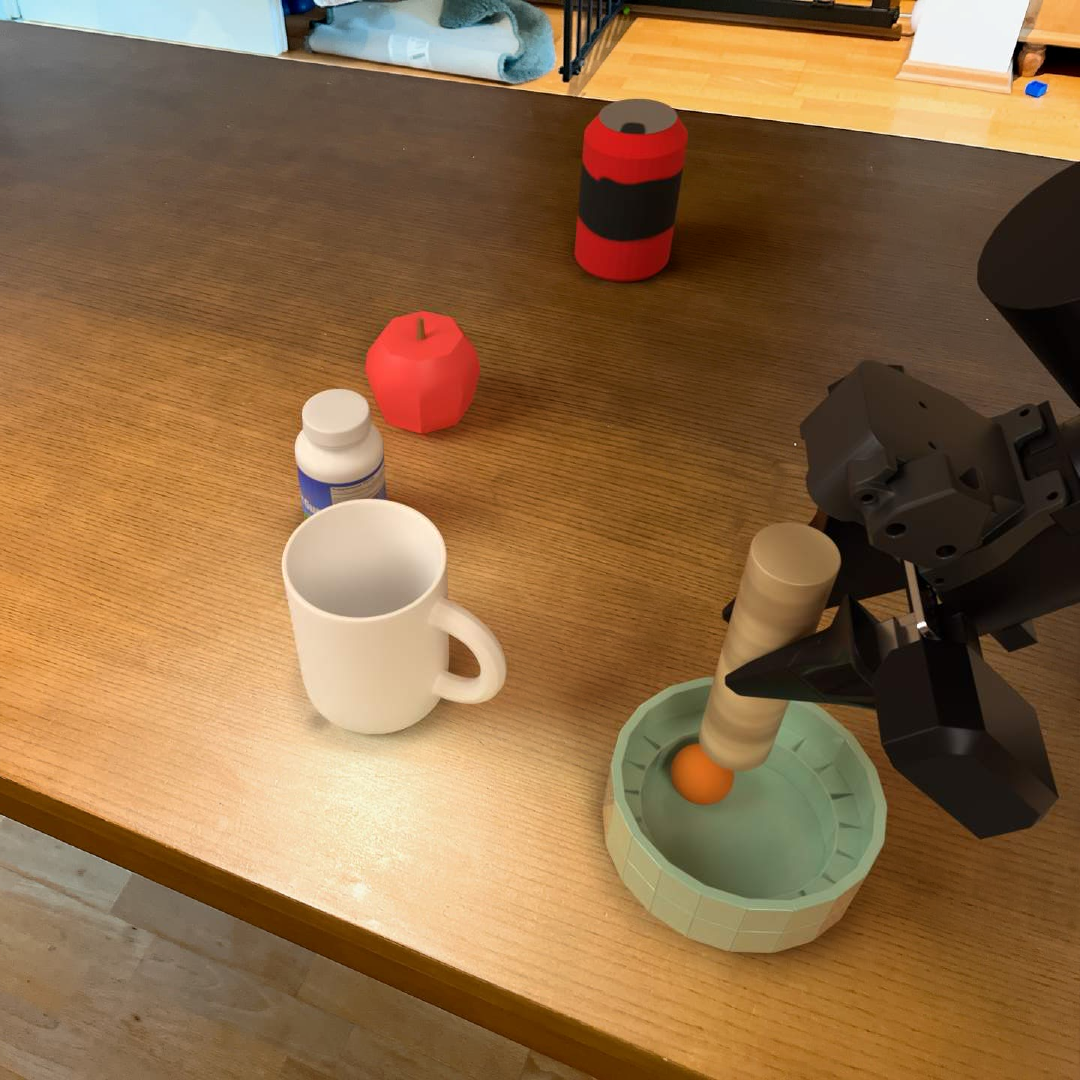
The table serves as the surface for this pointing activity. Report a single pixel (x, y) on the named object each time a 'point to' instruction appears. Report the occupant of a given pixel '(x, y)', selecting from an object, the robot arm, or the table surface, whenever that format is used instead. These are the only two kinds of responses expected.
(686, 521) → the table surface
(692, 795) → the bead
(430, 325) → the apple
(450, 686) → the mug
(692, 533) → the table surface
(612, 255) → the soda can
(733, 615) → the stick
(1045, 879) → the table surface
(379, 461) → the pill bottle
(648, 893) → the bowl
